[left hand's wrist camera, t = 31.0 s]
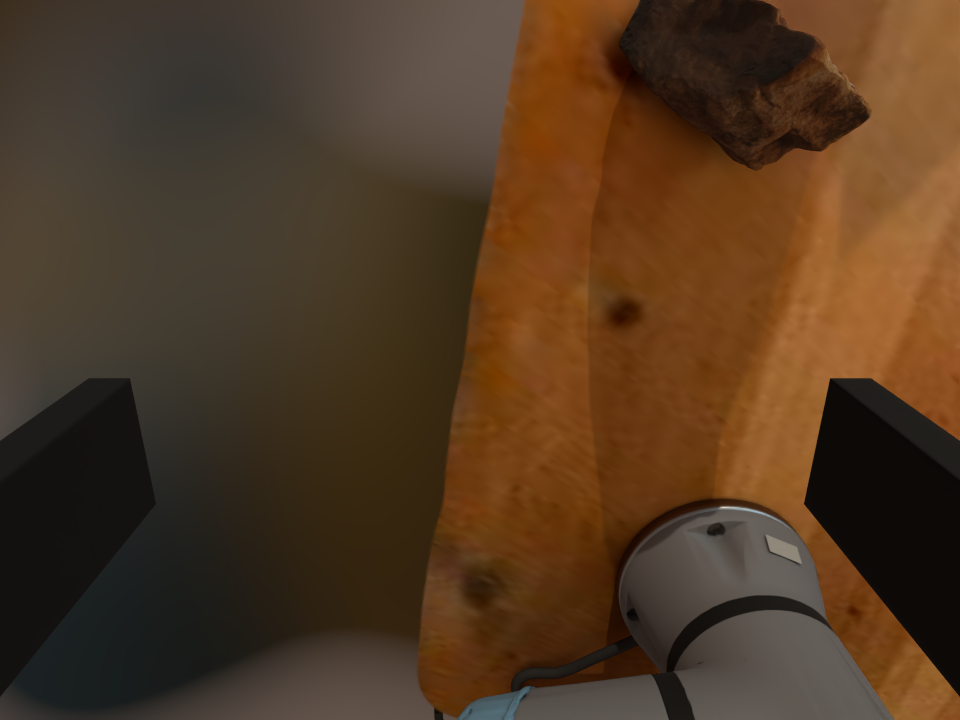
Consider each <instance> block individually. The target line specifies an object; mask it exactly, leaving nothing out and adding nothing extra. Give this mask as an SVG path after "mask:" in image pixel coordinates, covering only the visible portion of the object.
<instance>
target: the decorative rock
mask: <svg viewBox="0 0 960 720" xmlns="http://www.w3.org/2000/svg"><path fill="white" fill-rule="evenodd" d="M619 47H620V49H621V50H622V51H623V52H624V54H625V56H626V58H627V60H628V61H629V63H630V65H631V66H632V67H633V69H634V70H635V71H636V72H637V73H638V74H639V76H640V77H641V78H642V79H643V80H644V81H645V82H646V84H647V86H648V87H649V88H650V89H651V90H652V91H653V92H654V93H655V94H657V95H659V96H661V97H662V99H663V100H664V102H665V103H666V104H667V105H668V106H669V107H670V108H671V109H672V110H674V111H675V112H676V113H677V114H678V115H679V116H680V117H682V118H683V119H685V120H686V121H688V122H689V123H691V124H692V125H694V126H695V127H696V128H698V129H699V130H700V131H702V132H704V133H706V134H708V135H709V136H711V137H712V138H713V139H714V140H715V141H716V142H717V143H718V144H719V145H720V146H721V148H722V149H723V150H724V151H725V153H726V154H727V155H728V156H730V157H731V158H732V159H733V160H734V161H736V162H738V163H740V164H745V165H746V166H747V167H749V168H751V169H753V170H756V171H757V170H760V169H762V167H763V166H764V165H766V164H770V163H773V162H776V161H777V160H779V159H780V158H781V157H782V156H783V155H784V154H786V153H787V152H789V151H791V150H792V149H794V148H801V149H805V150H810V151H822V150H824V149H826V148H828V146H829V145H830V144H831V143H834V142H836V141H837V140H839V139H840V138H841V137H843V136H844V135H846V134H848V133H849V132H851V131H852V130H854V129H855V128H857V127H859V126H860V125H862V124H863V123H864V122H865V121H866V120H868V119H869V118H870V117H871V113H872V109H871V107H870V106H869V104H868V103H867V102H866V101H865V100H864V99H863V97H862V96H860V95H859V94H858V92H857V90H856V88H855V86H854V85H853V84H851V83H850V82H849V80H848V78H847V76H846V75H845V74H843V73H842V72H840V71H839V70H838V69H837V67H836V66H835V65H833V64H832V63H831V60H830V57H829V54H828V51H827V49H826V47H825V45H824V44H823V43H822V42H821V41H820V40H819V39H818V38H817V37H815V36H812V35H809V34H807V33H804V32H799V31H794V30H791V29H790V28H789V27H788V24H787V22H786V21H785V19H783V18H782V15H781V12H780V10H779V9H777V8H776V7H774V6H772V5H771V4H768V3H766V2H763V1H759V0H640V2H639V5H638V6H637V8H636V10H635V12H634V14H633V16H632V18H631V20H630V22H629V24H628V26H627V28H626V30H625V31H624V33H623V35H622V37H621V40H620V42H619Z"/></svg>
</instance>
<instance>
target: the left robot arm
mask: <svg viewBox="0 0 960 720" xmlns="http://www.w3.org/2000/svg"><path fill="white" fill-rule="evenodd" d="M155 504H156V502H155V497H154V492H153V488H152V483H151V478H150V473H149V468H148V464H147V459H146V454H145V449H144V444H143V439H142V435H141V430H140V425H139V421H138V415H137V411H136V406H135V401H134V396H133V392H132V387H131V382H130V379H129V378H89V379H87V380H86V381H85V382H83V383H82V384H80V385H79V386H77V387H76V388H75V389H73V390H72V391H70V392H69V393H68V394H66V395H65V396H63V397H62V398H60V399H59V400H58V401H56V402H55V403H53V404H52V405H50V406H49V407H48V408H46V409H45V410H43V411H42V412H41V413H39V414H38V415H36V416H35V417H33V418H32V419H31V420H29V421H28V422H26V423H25V424H23V425H22V426H21V427H19V428H18V429H16V430H15V431H14V432H12V433H11V434H9V435H8V436H6V437H5V438H4V439H2V440H1V441H0V696H1V695H2V694H3V693H4V691H5V690H6V689H7V688H8V686H9V685H10V684H11V683H12V681H13V680H14V679H15V678H16V676H17V675H18V674H19V673H20V671H21V670H22V669H23V668H24V667H25V665H26V664H27V663H28V662H29V660H30V659H31V658H32V657H33V655H34V654H35V653H36V652H37V650H38V649H39V648H40V647H41V645H42V644H43V643H44V642H45V641H46V639H47V638H48V637H49V636H50V634H51V633H52V632H53V631H54V629H55V628H56V627H57V626H58V624H59V623H60V622H61V621H62V620H63V618H64V617H65V616H66V615H67V613H68V612H69V611H70V610H71V608H72V607H73V606H74V605H75V603H76V602H77V601H78V600H79V599H80V597H81V596H82V595H83V593H84V592H85V591H86V590H87V589H88V587H89V586H90V585H91V584H92V582H93V581H94V580H95V579H96V577H97V576H98V575H99V574H100V573H101V571H102V570H103V569H104V567H105V566H106V565H107V564H108V563H109V561H110V560H111V559H112V558H113V556H114V555H115V554H116V553H117V551H118V550H119V549H120V548H121V547H122V545H123V544H124V543H125V542H126V540H127V539H128V538H129V537H130V535H131V534H132V533H133V532H134V530H135V529H136V528H137V527H138V526H139V524H140V523H141V522H142V521H143V519H144V518H145V517H146V516H147V514H148V513H149V512H150V511H151V509H152V508H153V507H154V506H155ZM804 504H805V506H806V507H807V508H808V509H809V511H810V512H811V513H812V514H813V516H814V517H815V518H816V519H817V521H818V522H819V523H820V524H821V526H822V527H823V528H824V529H825V530H826V532H827V533H828V534H829V535H830V537H831V538H832V539H833V540H834V542H835V543H836V544H837V545H838V547H839V548H840V549H841V550H842V551H843V553H844V554H845V555H846V556H847V558H848V559H849V560H850V561H851V563H852V564H853V565H854V566H855V568H856V569H857V570H858V571H859V573H860V574H861V575H862V576H863V577H864V579H865V580H866V581H867V582H868V584H869V585H870V586H871V587H872V589H873V590H874V591H875V592H876V594H877V595H878V596H879V597H880V599H881V600H882V601H883V602H884V603H885V605H886V606H887V607H888V608H889V610H890V611H891V612H892V613H893V615H894V616H895V617H896V618H897V620H898V621H899V622H900V623H901V624H902V626H903V627H904V628H905V629H906V631H907V632H908V633H909V634H910V636H911V637H912V638H913V639H914V641H915V642H916V643H917V644H918V646H919V647H920V648H921V649H922V650H923V652H924V653H925V654H926V655H927V657H928V658H929V659H930V660H931V662H932V663H933V664H934V665H935V667H936V668H937V669H938V670H939V671H940V673H941V674H942V675H943V676H944V678H945V679H946V680H947V681H948V683H949V684H950V685H951V686H952V688H953V689H954V690H955V691H956V693H957V694H958V695H959V696H960V441H959V440H958V439H956V438H955V437H954V436H952V435H951V434H949V433H948V432H946V431H945V430H944V429H942V428H941V427H939V426H938V425H937V424H935V423H934V422H932V421H931V420H929V419H928V418H927V417H925V416H924V415H922V414H921V413H919V412H918V411H917V410H915V409H914V408H912V407H911V406H910V405H908V404H907V403H905V402H904V401H902V400H901V399H900V398H898V397H897V396H895V395H894V394H892V393H891V392H890V391H888V390H887V389H885V388H884V387H883V386H881V385H880V384H878V383H877V382H875V381H874V380H873V379H871V378H830V382H829V387H828V391H827V396H826V401H825V406H824V411H823V415H822V420H821V425H820V430H819V435H818V439H817V444H816V449H815V454H814V459H813V463H812V468H811V473H810V478H809V483H808V487H807V492H806V497H805V502H804ZM616 591H617V598H618V602H619V606H620V609H621V613H622V616H623V619H624V621H625V623H626V625H627V627H628V629H629V631H630V633H631V636H629V637H627V638H625V639H622V640H620V641H618V642H616V643H613V644H611V645H609V646H607V647H604V648H602V649H600V650H597V651H595V652H593V653H591V654H589V655H587V656H585V657H582V658H580V659H578V660H576V661H574V662H571V663H569V664H566V665H563V666H559V667H554V668H537V667H535V668H527V669H524V670H522V671H520V672H519V673H518V674H517V675H516V676H515V677H514V678H513V680H512V683H511V691H512V692H511V693H506V694H501V695H495V696H490V697H484V698H480V699H477V700H475V701H474V702H472V703H471V704H469V705H468V706H467V707H466V708H465V709H464V710H463V712H462V713H461V715H460V716H459V718H458V720H894V719H893V717H892V716H891V714H890V713H889V711H888V710H887V708H886V707H885V705H884V704H883V702H882V701H881V699H880V698H879V697H878V695H877V694H876V692H875V691H874V689H873V688H872V686H871V685H870V683H869V682H868V680H867V679H866V678H865V676H864V675H863V673H862V672H861V670H860V669H859V667H858V666H857V664H856V663H855V661H854V660H853V658H852V657H851V656H850V654H849V653H848V651H847V650H846V648H845V647H844V645H843V644H842V642H841V641H840V639H839V638H838V637H837V635H836V634H835V632H834V631H833V629H832V628H831V626H830V625H829V623H828V622H827V619H826V614H825V608H824V603H823V599H822V594H821V590H820V586H819V582H818V575H817V571H816V567H815V564H814V561H813V559H812V557H811V555H810V552H809V550H808V548H807V547H806V545H805V544H804V542H803V541H802V539H801V538H800V536H799V535H798V534H797V532H796V531H795V530H794V529H793V527H792V526H791V525H790V524H789V523H788V522H787V521H786V520H785V519H784V518H782V517H781V516H779V515H778V514H777V513H775V512H773V511H771V510H770V509H767V508H765V507H763V506H760V505H757V504H754V503H751V502H746V501H741V500H733V499H714V500H706V501H700V502H695V503H692V504H688V505H685V506H682V507H680V508H677V509H675V510H673V511H670V512H668V513H666V514H665V515H663V516H661V517H659V518H658V519H656V520H655V521H654V522H652V523H651V524H650V525H648V526H647V527H646V528H645V529H644V530H643V531H642V532H641V533H640V534H639V535H638V536H637V537H636V538H635V539H634V540H633V542H632V543H631V544H630V546H629V547H628V549H627V550H626V552H625V554H624V556H623V558H622V560H621V563H620V566H619V569H618V573H617V580H616ZM638 645H639V646H640V647H641V648H642V649H643V651H644V652H645V653H646V654H647V656H648V657H649V658H650V659H651V661H652V662H653V663H654V664H655V666H656V667H657V668H658V669H659V671H660V672H661V673H659V674H647V675H639V676H631V677H624V678H616V679H609V680H601V681H593V682H586V683H578V684H568V685H559V686H550V687H541V688H535V687H532V686H526V687H524V688H522V689H521V685H522V684H523V682H525V681H527V680H529V679H556V678H562V677H565V676H568V675H571V674H574V673H577V672H579V671H581V670H583V669H586V668H588V667H590V666H592V665H594V664H596V663H598V662H601V661H603V660H605V659H608V658H610V657H612V656H615V655H617V654H619V653H622V652H624V651H626V650H628V649H631V648H633V647H635V646H638ZM434 719H435V720H444V719H443V712H440V711H439V710H437V709H436V708H434Z"/></svg>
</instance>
